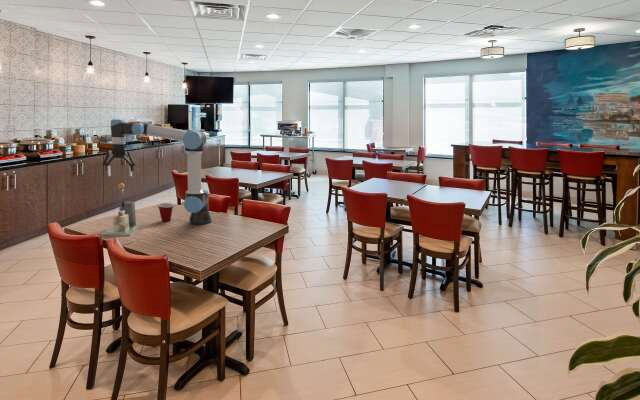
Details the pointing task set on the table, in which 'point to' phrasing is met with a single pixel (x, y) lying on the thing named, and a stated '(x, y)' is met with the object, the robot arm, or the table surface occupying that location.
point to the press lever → (121, 196)
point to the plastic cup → (165, 211)
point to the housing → (120, 222)
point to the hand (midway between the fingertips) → (120, 176)
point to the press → (130, 210)
